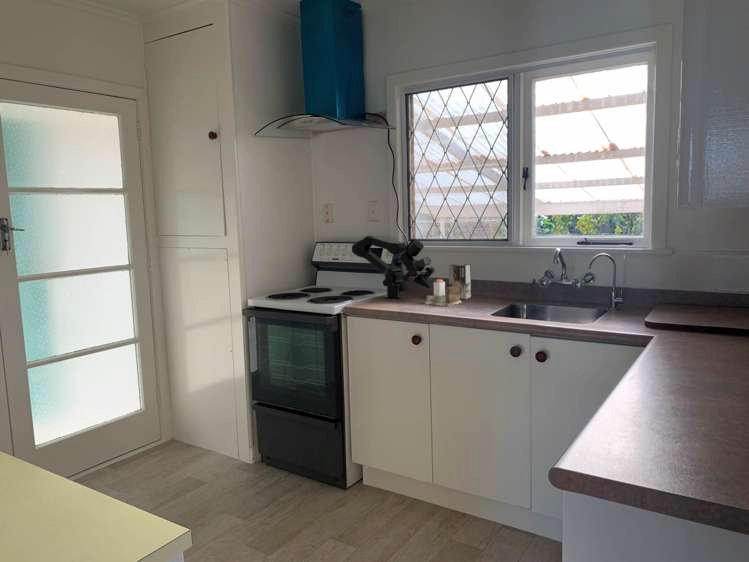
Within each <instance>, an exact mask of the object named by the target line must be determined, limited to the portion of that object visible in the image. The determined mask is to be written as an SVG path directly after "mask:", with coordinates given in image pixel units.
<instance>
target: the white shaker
mask: <svg viewBox="0 0 749 562" xmlns="http://www.w3.org/2000/svg"><path fill="white" fill-rule="evenodd" d="M445 294H446V282H445V281H443V279H439V278H438V279H435V281H434V282H433V294H431V296H439V297H446V295H445Z"/></svg>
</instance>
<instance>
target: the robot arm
mask: <svg viewBox="0 0 749 562" xmlns="http://www.w3.org/2000/svg"><path fill="white" fill-rule="evenodd" d="M372 246H375V247H377V248H381V249H383V250H387V251H388V252H389V253H390V254H392V255H394V256H395V255H399V256H397V257H396V258H397V259H396V263H397V264H398V263H402V264H403V266H404V268H405V271H406V273H404V272H403V271H402V269H401V268H399V267H398V266H397V265H389V264H388V263H386V262H385V261H384V260H383V259H382V258H380V257H379V256H378V255H376V254H375V253H374V252H372V249H371V248H372ZM424 248H425V246H424V244H423V243H422V242H421V241H419V240H417V239H416V238H411V240H410V242H409V243H408V244H406V243H405V242H404V241H390V240H388V239H384V238H380V237H377V236H374V235H366V236H365V237H364V238H362V239H361V240H359V241H358V242H355V243H353V244H352V246H351V252H352V254H353V255H355V256H357V257H360V258H362V259H364V260H366V261H367V262H368V263H370V264H371V265H372V266H374V267H375V268H376V269H378V270H379V271H380V272H381V273H382V274H383V276H384V278H385V279H383V281H382V285H383V287H386V295H384V298H386V299H390V300H393V299H401V298H402V296H401V295H399V286H400V285H402V283H403V282H404V283H409V282H411V281H410V279H412V278H413V283H416V284H418V285H420V286H422V287H425V288H426V289H431V284H430V281H429V278H430V277H431V276H432V275H433V273H434V272H435V271H436V270H435V268H434V267H433V266H431V262H432V259H431V258H430V257H429V256H425V257H423V258H421V259H419V260H416V259H415V258H416V257H417V256H419V254H420V253H421V252H422V250H423V249H424ZM414 257H415V258H414ZM429 265H430V266H429ZM426 266H429V267H426Z"/></svg>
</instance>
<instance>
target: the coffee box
mask: <svg viewBox="0 0 749 562" xmlns="http://www.w3.org/2000/svg"><path fill="white" fill-rule="evenodd" d="M471 267H472V266H471V264H466V263H465V264H463V263H453V264H450V265H448V287H451V286H460V299H462V300H463V299H464V300H467V299H469V298H471V297H472V289H471V287H472V285H471V284H472V283H471V282H472V281H471V280H472V278H471V273H472V271H471Z"/></svg>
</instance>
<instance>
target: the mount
mask: <svg viewBox="0 0 749 562" xmlns="http://www.w3.org/2000/svg"><path fill="white" fill-rule="evenodd" d="M445 295H446V297H439V296H432V295H429V294H428V295H426V301H425V300H424V304H425V305H429V304H431V305H430V306H438V305H440V306H439V307H446V306H449V307H452V306H456V305H459V303H460V304H461V303H462V300H460V286H451V287H449V286H448V287H445ZM455 304H456V305H455Z"/></svg>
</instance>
